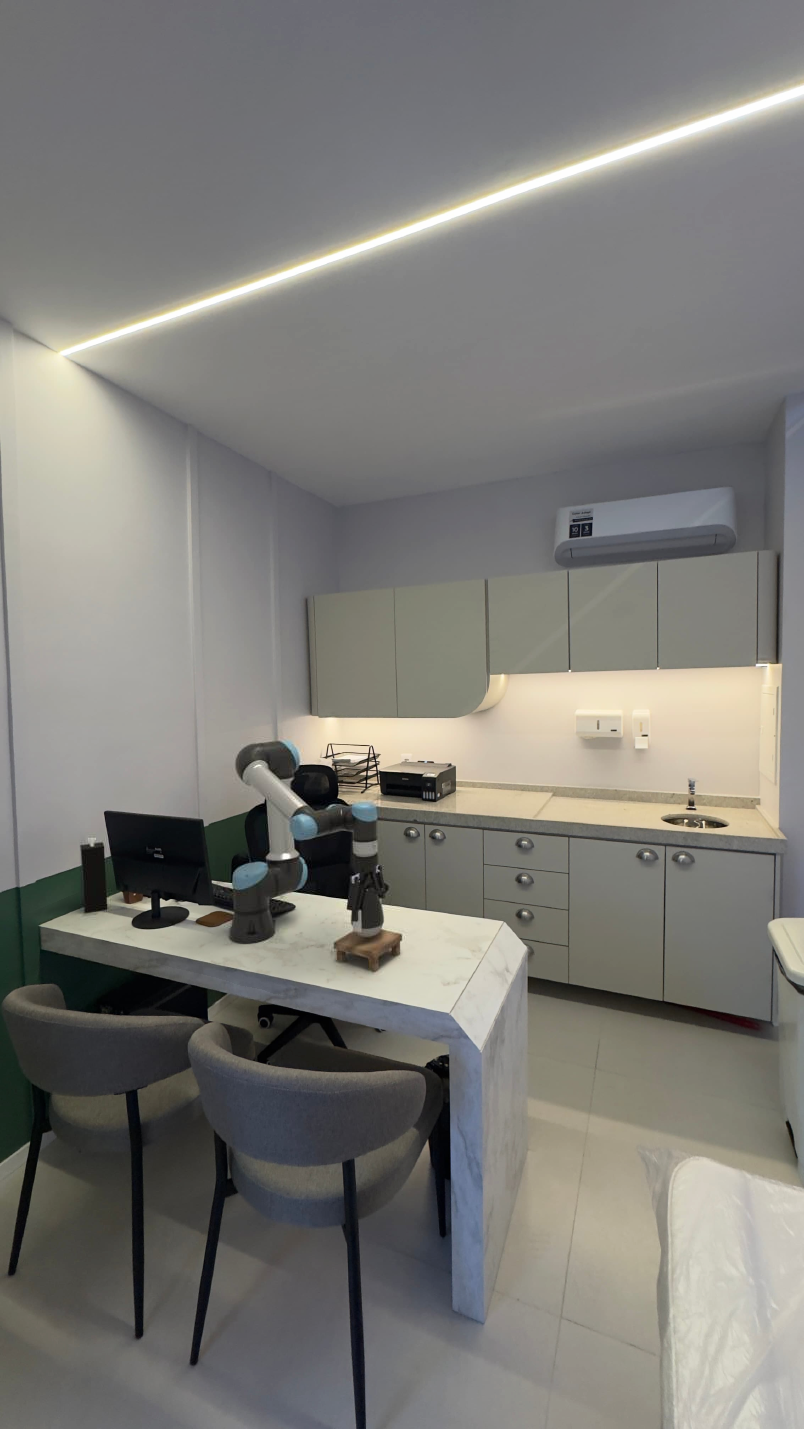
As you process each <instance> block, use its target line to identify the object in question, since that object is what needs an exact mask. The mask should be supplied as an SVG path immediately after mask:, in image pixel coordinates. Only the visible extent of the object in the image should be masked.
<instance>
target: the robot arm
mask: <svg viewBox="0 0 804 1429" xmlns="http://www.w3.org/2000/svg"><path fill="white" fill-rule="evenodd" d="M300 760H301V759H300V754H299V751H298V749H297V747H296V746H295V745H294V744H293V743H292V742H291V741H288V740H275V741H266V742H258V743H255V742H254V743H250V744H248V745H246V746H244V747H242V748H241V749H240V750H239V751H238V754H237V755H236V758H235V763H234V766H235V772H236V774H237V776H238V778H239V779H240V780H241V781H242V782H243V783H244V784H245V785H246V786H248V787H252V788H253V789H255V790H256V791H257V792H258V793H259V794H260V795H261V796H262V797H263V798H264V799H265V800H266V812H267V826H268V841H269V853H268V854H267V855H266V856H265V860H266V862H262V861H254V862H247V863H245V864H243V865H241V866H238V867H237V868H236V869H235V870H234V872H233V874H232V883H231V886H232V897H233V898H232V899H233V917H232V921H231V926H230V928H229V930H228V931H229V939H230V940H231V941H232V942H235V943H238V944H255V943H258V942H259V943H260V942H263V941H266V940H269V938H272V937H273V936H274V935H275V933H276V924H275V922H274V919H273V917H272V912H271V911H270V900H271V899H275V898H277V897H280V896H283V895H286V894H290V893H293V892H295V891H297V890H300V889H301V888H303V887H304V885H305V884H306V881H307V879H308V866H307V863H306V862H305V860H304V858H302V857H301V856H300V853H299V851H297V850H296V849H295V840H296V841H304V840H311V839H314V838H317V837H322V836H325V835H330V834H333V833H337V832H340V831H344V832H345V831H346V832H349V833H350V832H351V833H352V852H353V858H352V859H353V867H354V868H355V869H356V872H355V875H350V876H349V888H348V889H349V890H348V894H347V895H348V896H347V897H348V898H347V903H346V910H347V911H351V912H352V921H353V926H352V931H357V932H362V925H361V910H359V908H360V904H361V901H362V897H363V893H364V890H365V889H366V887H367V885H371V886H373V888H374V889H375V890H377V889H380V888H383V892H381V893H378V896H379V899H380V901H381V904H382V905H383V899H385V897H386V893H387V889H386V885H385V881H384V876H383V866H382V865H380V864H379V854H378V851H379V848H378V847H379V846H378V813H377V812H378V811H377V805H376V804H375V803H374V802H372V801H358V802H354V803H353V804H352V805H351V806H347V805H344V804H330V805H329V806H328V807H326V808H325V809H319V810H317V811H316V810H314V809H313V808H312V807H311V806H310V805H308V804H307V803H306V802H305V801H304V800H303V799H302V798H301V797H300V796H298V795H297V794H296V792H294V790H292V789H291V782H292V781H293V780H294V779H295V774H294V773H295V772H296V771H298V770H299V767H300V763H301V761H300Z"/></svg>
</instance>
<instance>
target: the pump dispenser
mask: <svg viewBox="0 0 804 1429" xmlns="http://www.w3.org/2000/svg"><path fill="white" fill-rule="evenodd" d="M381 892H383V888H380V889H377V890H375V889H374V888H373V886H371V885H369V884H368V885H367V887H366V889H365V890H364V893H363V897H362V901H361V904H360V908H359V910H361V925H362V932H357V931H355V932H356V933H357V934H358V935H360V936H363V937H371V936H374V935H376V934H378V933H379V932H380V930H381V929H382V928H383V925H384V922H385V916H384V910H383V909H384V908H383V903H382V904H381V901H380V899H379V896H378V893H381ZM350 924H351V926H352V927H353V921H352V911H351V913H350Z"/></svg>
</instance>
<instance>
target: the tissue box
mask: <svg viewBox="0 0 804 1429" xmlns="http://www.w3.org/2000/svg"><path fill="white" fill-rule="evenodd" d="M87 840H88V843H87V844H80V845H79V847H80V859H81V875H82V894H83V898H82V899H83V908H84V909H83V910H84V914H89V913H93V912H100V911H104V910H108V897H107V896H108V894H107V893H108V892H107V876H106V875H107V874H106V859H105V858H106V856H105V845H104V842H103V841H101V842H96V840H97V837H87Z"/></svg>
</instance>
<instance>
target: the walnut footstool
mask: <svg viewBox="0 0 804 1429" xmlns="http://www.w3.org/2000/svg"><path fill="white" fill-rule="evenodd" d="M401 942H403V934H402V933H400V932H394V931H390V930H387V929H381V930H380V932H379V933H378V934H376V935H374V936H371V937H363V936H360V935H358V934H357V933H356V932H355V931H353V930H352V931H351V932H349V933H347V934H346V935H343V936H342V937H340V938H338V939H337V940H335V941H333V949H334V950H335V951H336V962H338V963H344V962H346V961H347V953H349V954H352V955H356V956H360V957H363V958H367V959H368V971H371V972H377V971H378V970H379V957H380V956H382V955H383V954H385V953H386V952H388V951H389V950H390V951H391V955H393V956H397V957H398V955H400V954H401Z"/></svg>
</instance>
